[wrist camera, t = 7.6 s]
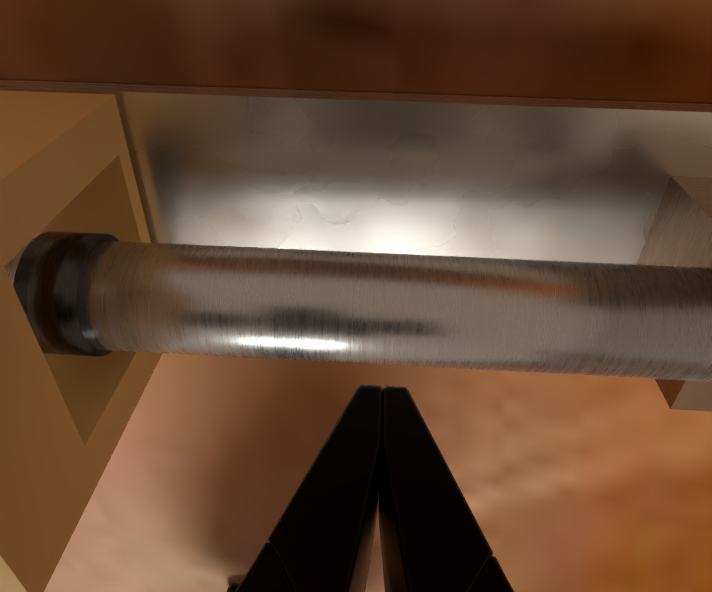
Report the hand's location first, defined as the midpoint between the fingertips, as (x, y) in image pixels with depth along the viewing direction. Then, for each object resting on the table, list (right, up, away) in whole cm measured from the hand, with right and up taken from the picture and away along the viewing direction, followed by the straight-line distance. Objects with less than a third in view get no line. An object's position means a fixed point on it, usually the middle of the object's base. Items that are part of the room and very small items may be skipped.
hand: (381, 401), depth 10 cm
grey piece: (-2, +4, +5) cm, 7 cm away
